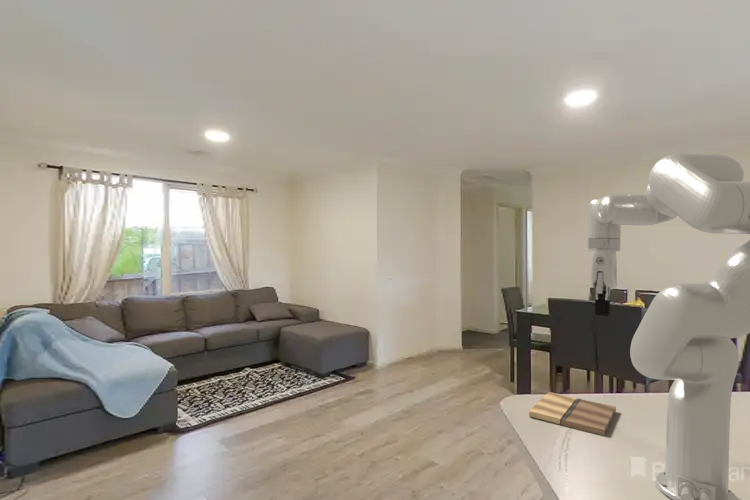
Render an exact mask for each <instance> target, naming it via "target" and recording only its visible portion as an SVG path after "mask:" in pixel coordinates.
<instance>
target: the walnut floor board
mask: <svg viewBox="0 0 750 500" xmlns="http://www.w3.org/2000/svg"><path fill="white" fill-rule="evenodd" d="M616 411H617V407H616V406H614V405H611V404H610V405H609V404H605V403H601V402H596V401H591V400H586V399H581V398H577V400H576V402H575V403H574V404H573V405H572V407H571V408H570V409H569V411H568V412H567V413H566V414H565V416H564V417H563V418H562V419H561V424H560V425H561V426H563V427H567V428H569V429H570V428H571V429H575V430H579V431H583V432H585V433H586V432H588V433H589V434H590V433H591V434H593V435H594V434H595V435H599V436H603V437H604V436H605V435H606V432H607V431H608V429H609V426H610V425H611V423H612V421H613V419H614V416H615V414H616Z"/></svg>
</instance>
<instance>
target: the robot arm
mask: <svg viewBox="0 0 750 500" xmlns="http://www.w3.org/2000/svg"><path fill="white" fill-rule="evenodd" d="M744 175H745V174H744V169H743V167H742V165H741V164H740V163H739V161H737V160H736V159H734V158H732V157H730V156H726V155H722V154H718V153H717V154H716V153H715V154H714V153H686V152H685V153H683V152H678V153H671V154H668V155H666V156H664V157H661V158H660V159H659V160H657V161H656V163H654V165H653V166H652V168H651V169H650V172H649V175H648V181H647V182H648V184H647V186H646V191H645V194H632V193H631V194H630V193H626V194H619V193H613V194H607V195H605V196H603V197H601V198H595V199H592V200H590V202H589V203H588V228H587V229H588V231H587V251H590V252H591V266H590V268H591V272H590V273H591V275H590V281H591V282H590V283H591V287H592V288H593V289H595V304H594V314H595V315H596V316H603V317H604V316H605V317H608V316H610V315H611V314H610V313H611V310H610V309H611V300H610V298H611V297H610V295H611V290H614V289H616V288H617V286H618V262H617V252H621V236H622V235H621V233H622V231H621V230H622V229H621V227H622V226H653V225H657V224H662V223H667V222H669V221H672V220H675V219H676V218H677V217H678V218H679V219H681V220H682V221H684V223H686V224H687V225H689V226H690V227H691V228H693V229H694V230H698V231H699V232H703V233H707V234H724V235H725V234H727V235H731V234H732V235H736V234H737V235H750V181H744ZM639 323H640V324H639V325H638V327H637V329H636V330H635V333H634V334H633V337H632V339H631V343H630V348H629V355H630V356H629V357H630V359H631V360H630V361H631V364H632V365H633V367H634V368H635V370H636V371H637V372H638V373H640V375H642V376H644V377H647V378H649V379H652V380H661V381H662V380H663V381H664V380H665V381H668V380H669V381H673V382H672V384H671V386H670V388H669V391H668V395H667V402H666V406H667V407H666V439H665V441H666V442H665V446H666V448H665V471H662V472H660V473H658V474H657V475H656V477H655V484H656V487H657V489H659V491H660V492H661V493H662V494H664V496H667V497H668V498H669V499H671V500H739V497H738V496H737V495H736V494H735V493H734V492H733V491H732V490H731V489H729V478H730V477H729V474H730V433H731V432H730V430H731V429H730V428H731V426H730V425H731V403H732V393H733V387H734V383H735V380H736V376H737V373H738V369H739V364H740V355H739V351H738V348H737V346H736V344H735V343H734V341H733V340H732V339H737V338H740V337H741V338H742V337H744V336H747V335H749V334H750V239H749V240H747V241H746V242H744V243H743V244H742V245H740V246H739V247H736V249H735V250H733V251H732V252H731V253H730V254H728V255H727V257H726V258H725V259H724V260H723V262H722V264H721V265H720V267H719V269H718V270H717V272H716V273H715V275H714V276H713V277H712V278H711V279H710V280H709V281H707V282H703V283H675V284H671V285H668V286H666V287H664V288H663V289H661V290H660V291H659V292H658V293H657V294H656V295H655V296H654V298H653V299H652V301H651V302H650V304H649V306H648V308H647V310H646V311H645V314H644V315H643V317H642V319H641V321H640V322H639Z"/></svg>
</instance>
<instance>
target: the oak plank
mask: <svg viewBox="0 0 750 500" xmlns="http://www.w3.org/2000/svg"><path fill="white" fill-rule="evenodd" d="M577 399H578V398H577V397H573V396H570V395H566V394H560V393H556V392H551V391H548V392H547V393H546V394H545V395H544V396H543V397H542V398H541V399H540V400H539V401H538V402H536V404H535V405H534V406H533V407H532V408H530V410H529V411H528V416H529V418H534V419H538V420H542V421H545V422H549V423H553V424H557V425H561V419H562V418H563V417H564V416H565V414H566V413H567V412H568V411H569V409H570V408H571V407H572V405H573V404H574V403H575V402H576V400H577Z"/></svg>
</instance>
